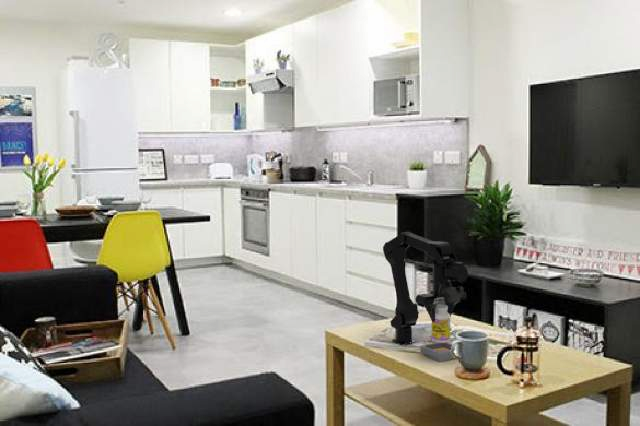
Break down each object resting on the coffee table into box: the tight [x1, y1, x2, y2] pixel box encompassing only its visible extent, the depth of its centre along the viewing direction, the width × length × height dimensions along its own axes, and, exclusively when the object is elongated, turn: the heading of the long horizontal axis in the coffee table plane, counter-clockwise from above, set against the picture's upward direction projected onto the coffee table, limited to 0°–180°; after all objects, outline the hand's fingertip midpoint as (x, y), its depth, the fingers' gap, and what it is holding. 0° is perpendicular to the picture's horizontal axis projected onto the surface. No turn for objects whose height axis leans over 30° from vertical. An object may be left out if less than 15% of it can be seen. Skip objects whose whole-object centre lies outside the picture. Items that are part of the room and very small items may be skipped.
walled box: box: [419, 342, 456, 363], centre depth 246 cm, size 11×11×3 cm
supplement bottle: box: [430, 304, 451, 343], centre depth 245 cm, size 7×7×13 cm
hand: (440, 320), depth 245 cm, fingers closed on supplement bottle, 7 cm apart
